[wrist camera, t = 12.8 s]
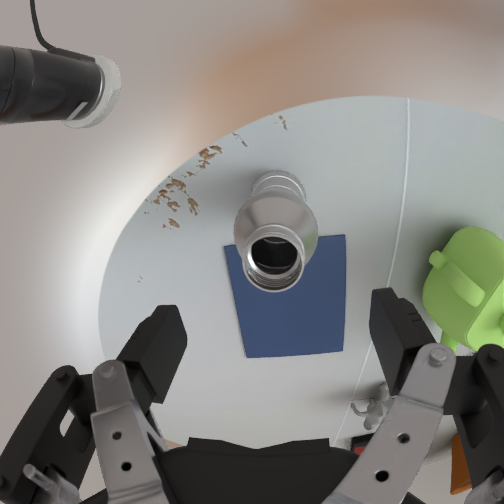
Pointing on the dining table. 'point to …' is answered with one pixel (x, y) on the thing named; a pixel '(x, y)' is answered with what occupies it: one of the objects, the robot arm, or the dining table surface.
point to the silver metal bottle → (275, 232)
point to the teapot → (468, 289)
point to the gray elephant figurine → (376, 408)
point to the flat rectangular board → (294, 305)
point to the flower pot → (459, 468)
